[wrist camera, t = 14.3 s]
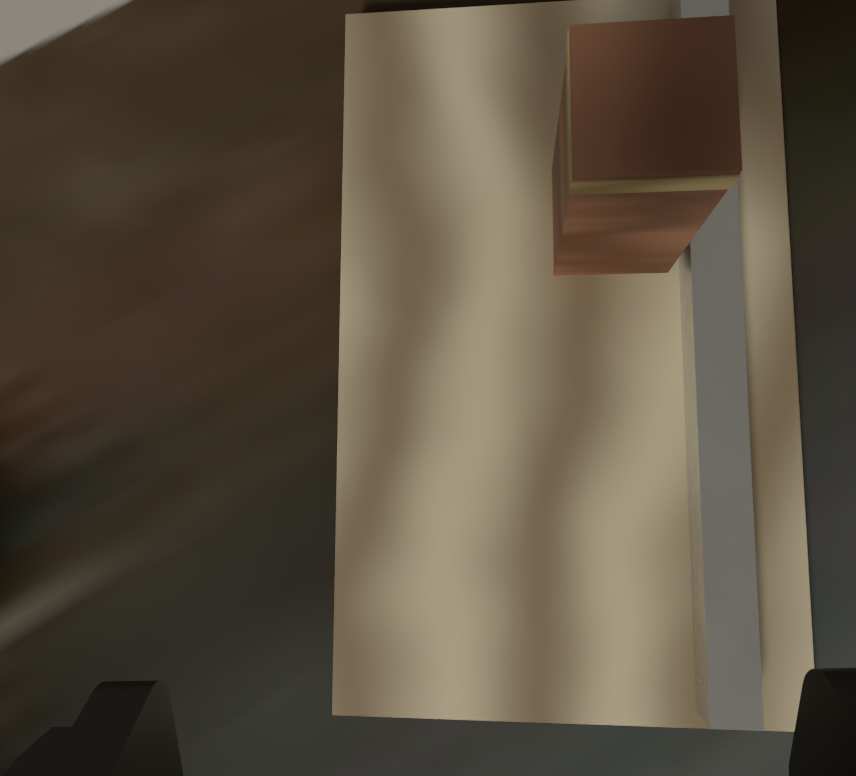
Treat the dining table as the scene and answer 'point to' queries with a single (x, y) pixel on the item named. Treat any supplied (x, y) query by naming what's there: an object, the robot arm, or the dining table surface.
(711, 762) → the dining table surface
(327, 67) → the dining table surface
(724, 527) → the rail
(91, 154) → the dining table surface
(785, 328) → the board
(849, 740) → the robot arm
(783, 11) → the dining table surface
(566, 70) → the brown squarish block
